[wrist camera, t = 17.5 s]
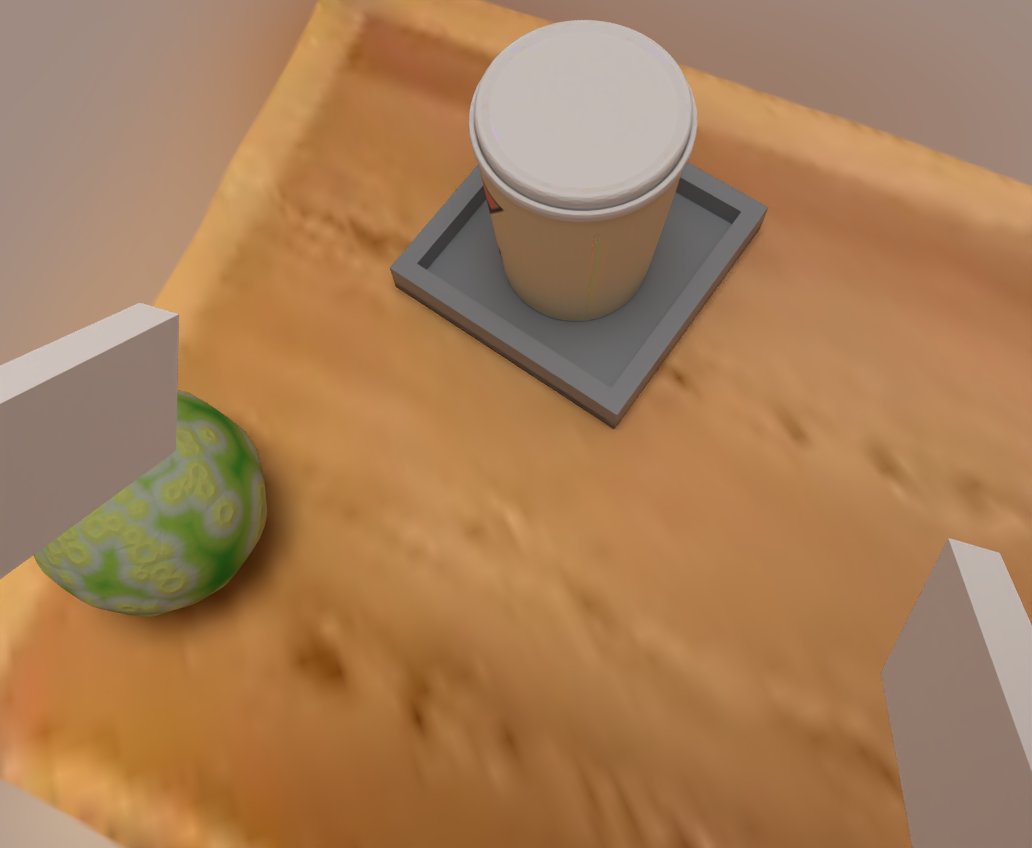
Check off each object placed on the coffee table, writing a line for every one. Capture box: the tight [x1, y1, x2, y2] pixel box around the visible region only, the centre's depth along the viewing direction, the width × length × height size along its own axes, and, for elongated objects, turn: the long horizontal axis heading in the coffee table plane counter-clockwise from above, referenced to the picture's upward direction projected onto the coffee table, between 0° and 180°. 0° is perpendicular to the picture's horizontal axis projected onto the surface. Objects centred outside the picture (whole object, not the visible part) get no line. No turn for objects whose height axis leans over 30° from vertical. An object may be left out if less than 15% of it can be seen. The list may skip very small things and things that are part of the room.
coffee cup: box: [469, 20, 697, 321], centre depth 41 cm, size 9×9×12 cm
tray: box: [390, 162, 768, 429], centre depth 47 cm, size 14×14×2 cm
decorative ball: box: [34, 390, 268, 617], centre depth 39 cm, size 10×10×10 cm
